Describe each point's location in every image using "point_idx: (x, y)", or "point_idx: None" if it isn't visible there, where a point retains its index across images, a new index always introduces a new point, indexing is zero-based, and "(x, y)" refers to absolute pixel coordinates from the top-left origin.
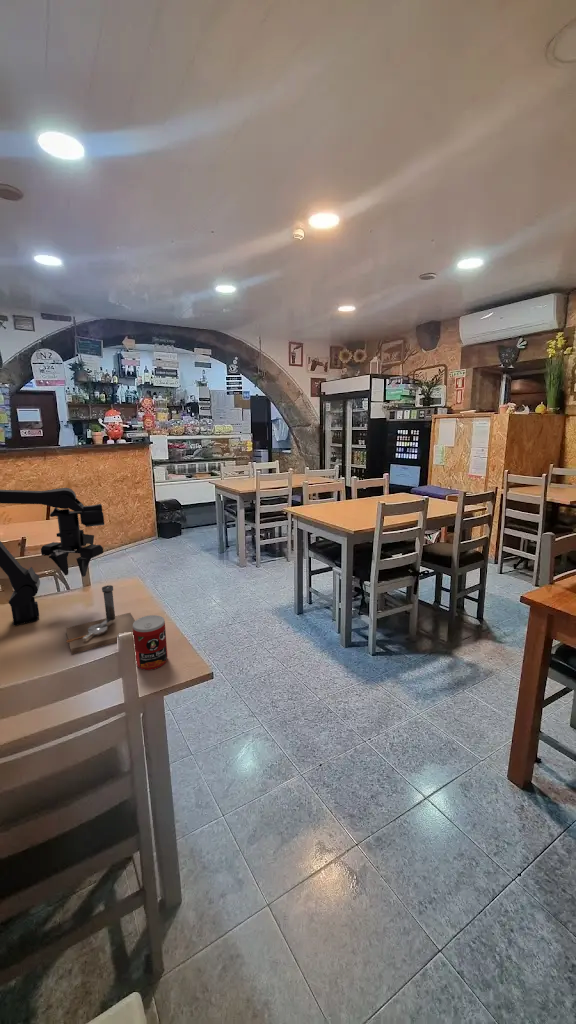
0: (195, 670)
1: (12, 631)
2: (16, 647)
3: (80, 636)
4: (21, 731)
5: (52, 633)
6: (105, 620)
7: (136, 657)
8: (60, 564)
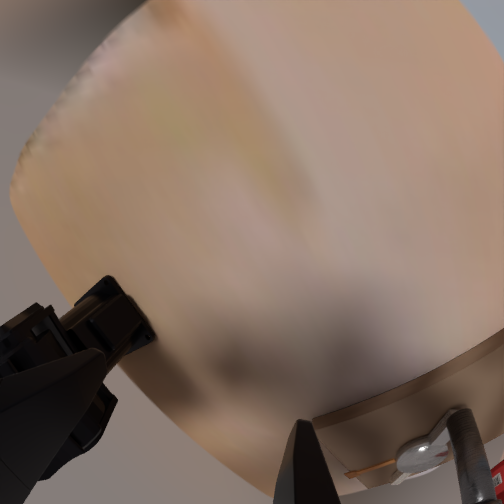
0: None
1: (140, 382)
2: (218, 450)
3: (376, 461)
4: None
5: (268, 416)
6: (443, 431)
7: None
8: (41, 469)
